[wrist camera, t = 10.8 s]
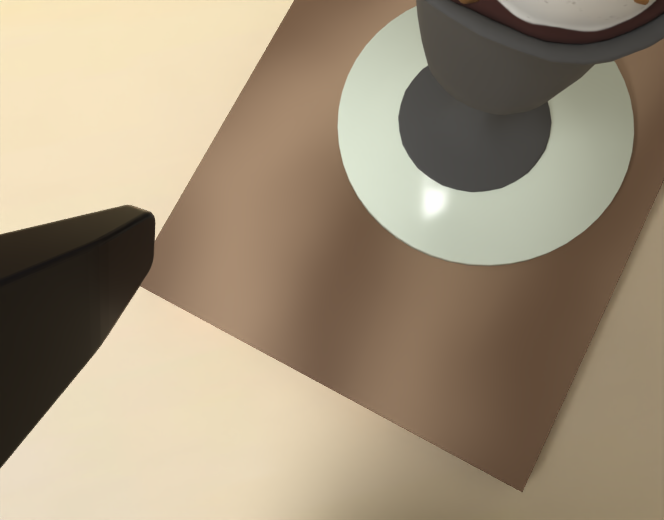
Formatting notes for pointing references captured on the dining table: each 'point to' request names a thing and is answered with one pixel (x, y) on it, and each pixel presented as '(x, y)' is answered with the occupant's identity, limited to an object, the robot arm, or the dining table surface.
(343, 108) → the coaster
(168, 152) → the dining table surface
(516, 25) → the sundae
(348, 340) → the serving board
